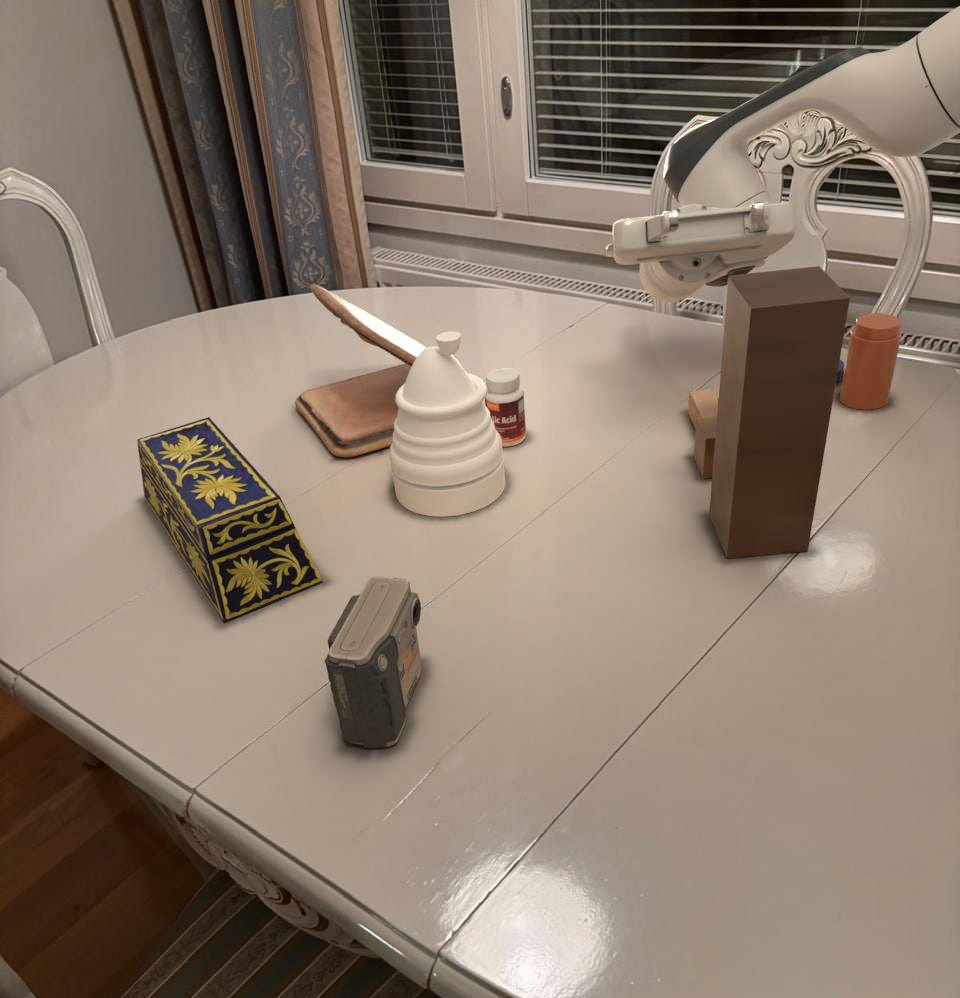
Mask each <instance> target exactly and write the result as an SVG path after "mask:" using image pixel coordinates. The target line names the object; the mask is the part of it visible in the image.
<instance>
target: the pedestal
mask: <svg viewBox="0 0 960 998" xmlns="http://www.w3.org/2000/svg"><path fill="white" fill-rule="evenodd" d="M850 300H851V298H850V296H849V295H847V293H846V292H845V291H844V290H843V289H842V288H841V287H840V285H838V284H837V283H836V282H835V280H833V279H832V278H831V276H830V275H828V273H827V272H826V271H824V269H823V268H822V267H821V266H820V265H817V266H809V267H807V266H806V267H801V268H799V267H797V268H790V269H789V268H787V269H779V270H771V271H770V270H769V271H768V270H767V271H759V272H748V273H747V274H739V275H729V276H728V285H727V289H726V300H725V301H726V302H725V313H724V314H725V315H724V325H723V326H724V327H723V337H722V339H723V340H722V350H721V351H722V352H721V363H720V364H721V365H720V375H719V386H718V387H719V390H718V398H719V399H718V411H717V424H716V436H715V449H714V461H713V473H712V478H711V488H710V499H709V510H708V511H709V513H708V517H709V519H710V521H711V524H712V526H713V529H714V531H715V534H716V536H717V538H718V541H719V543H720V546H721V548H722V550H723V553H724V555H725V558H726V559H727V560H728V559H739V558H740V559H741V558H749V557H750V558H751V557H761V556H772V555H773V556H774V555H783V554H793V553H794V554H795V553H804V552H808V551H809V547H810V540H811V534H812V528H813V523H814V516H815V511H816V506H817V505H816V504H817V498H818V493H819V487H820V481H821V476H822V468H823V462H824V457H825V450H826V445H827V438H828V432H829V428H830V421H831V414H832V408H833V403H834V396H835V391H836V386H837V385H836V384H837V383H836V379H837V373H838V367H839V361H840V360H841V355H842V350H843V343H844V337H845V331H846V324H847V320H848V312H849V307H850V302H851V301H850Z"/></svg>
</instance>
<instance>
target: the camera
mask: <svg viewBox="0 0 960 998" xmlns="http://www.w3.org/2000/svg"><path fill="white" fill-rule="evenodd" d="M411 590H412V589H411V583H410V581H409V580H407V579H406V578H399V577H384V576H383V577H382V576H371V577H369V578H368V580H367V582H366V583H365V584H364V587H363V589H362V590H361V592H360V594H357V595H352V596H351V597H350V599H349V601H348V602H347V604H346V606H345V607H344V609H343V610H342V613H341V615H340V617H339V618H338V620H337V622H336V624H335V626H334V627H333V629H332V631H331V633H330V634H329V636H328V639H327V645H328V653H327V655H326V657H325V659H324V664H325V667H326V672H327V678H328V681H329V683H330V684H329V686H330V691H331V693H332V699H333V703H334V707H335V709H336V714H337V717H338V722H339V728H340V730H341V736H342V738H343V740H345V741H346V743H347V744H354V745H361V746H363V748H365V749H378V748H388V747H393V746H395V745H396V744H397V743H398V742H399V740H400V738H401V735H402V733H403V731H404V729H405V726H406V723H407V713H406V708H407V707H408V704H409V702H410V700H411V698H412V696H413V693H414V691H415V688H416V685H417V683H418V681H419V679H420V677H421V674H422V671H423V669H422V659H421V658H422V656H421V651H420V645H419V644H420V643H419V638H418V630H417V627H418V625H419V623H420V620H421V615H422V603H421V601H420V600H421V599H420V597H419V595H418V593H416V592H414V591H411Z"/></svg>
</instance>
